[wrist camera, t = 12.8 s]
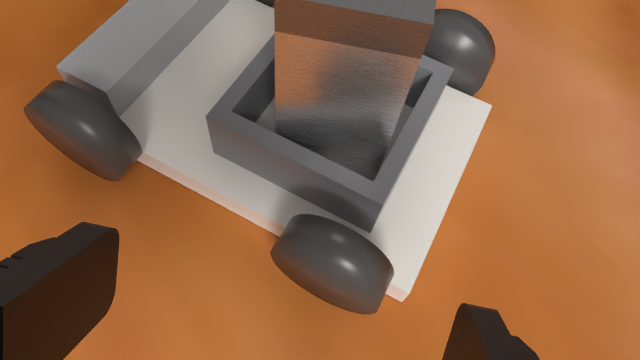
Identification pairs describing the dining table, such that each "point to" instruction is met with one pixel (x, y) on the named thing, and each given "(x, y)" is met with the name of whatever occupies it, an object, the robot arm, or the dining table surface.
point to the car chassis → (271, 137)
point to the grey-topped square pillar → (346, 74)
